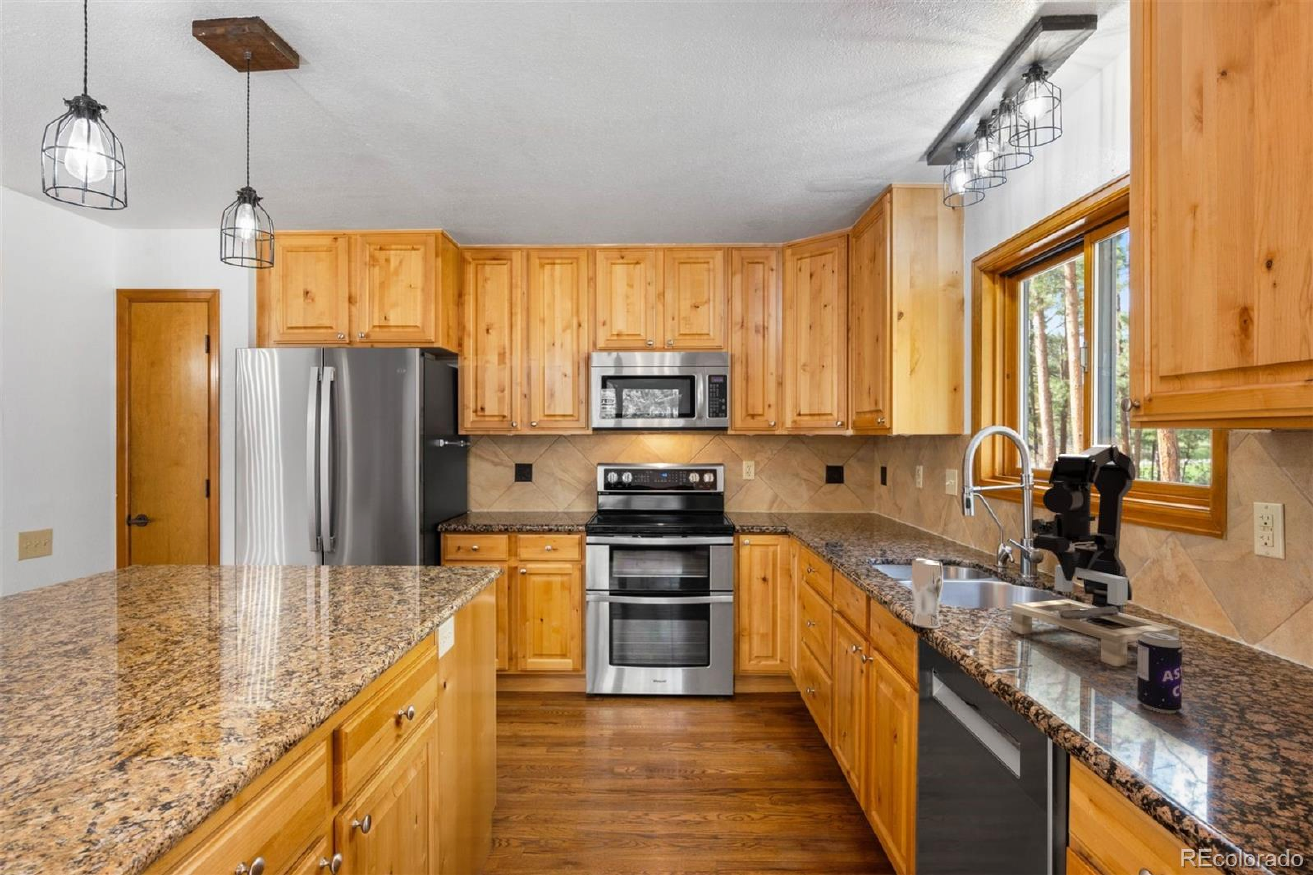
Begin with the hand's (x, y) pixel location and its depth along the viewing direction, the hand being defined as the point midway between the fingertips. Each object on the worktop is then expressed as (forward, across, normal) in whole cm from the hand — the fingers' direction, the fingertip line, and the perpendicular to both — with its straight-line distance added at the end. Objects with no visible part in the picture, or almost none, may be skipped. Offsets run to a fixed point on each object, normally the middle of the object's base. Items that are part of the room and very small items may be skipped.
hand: (1074, 580), depth 140 cm
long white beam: (+3, 0, +4) cm, 4 cm away
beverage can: (+13, +22, +32) cm, 41 cm away
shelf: (+13, 0, +4) cm, 13 cm away
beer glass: (+13, +25, -17) cm, 33 cm away
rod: (+7, 0, +4) cm, 8 cm away
